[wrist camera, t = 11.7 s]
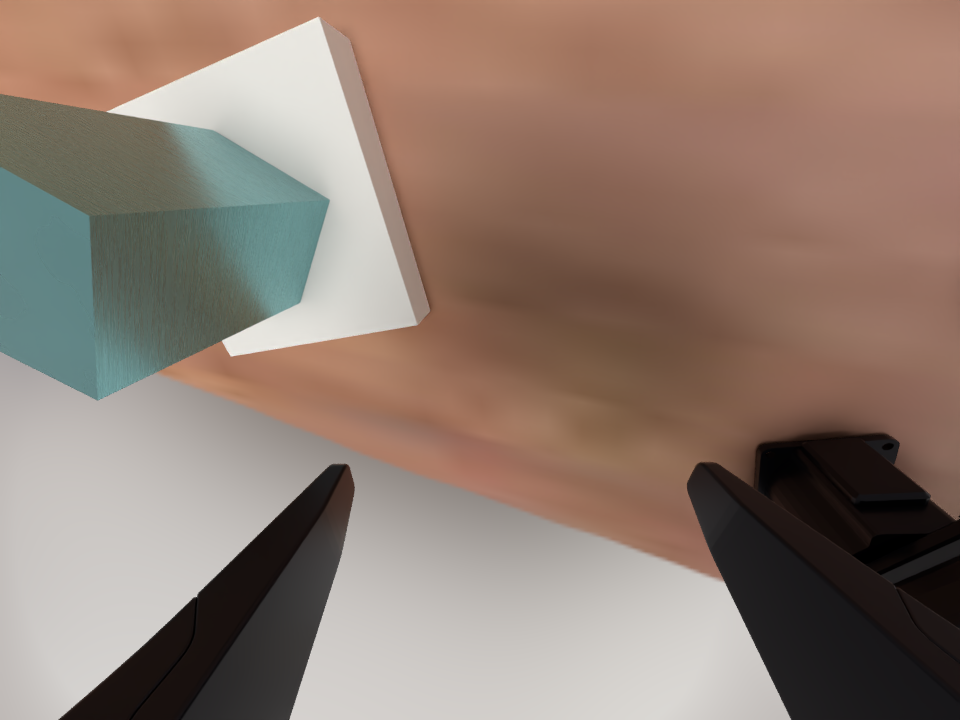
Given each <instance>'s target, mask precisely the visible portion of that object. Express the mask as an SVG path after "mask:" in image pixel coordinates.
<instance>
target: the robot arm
mask: <svg viewBox="0 0 960 720" xmlns="http://www.w3.org/2000/svg"><path fill="white" fill-rule="evenodd" d="M898 449H899V442H898V441H897V440H896V439H894V438H893V437H891V436H889V435H874V436H861V437H849V438H836V439H823V440H811V441H798V442H785V443H773V444H765V445H762V446H760V447H759V448H758V450H757V459H756V472H755V485H754V488H753V487H751V486H750V485H748V484H747V483H745V482H744V481H742V480H741V479H739V478H738V477H737V476H735V475H734V474H732V473H731V472H729V471H728V470H726V469H725V468H723V467H722V466H721V465H719V464H717V463H714V462H700V463H698V464H697V465H696V466H695V468H694V470H693V472H692V474H691V476H690V478H689V480H688V482H687V491H688V494H689V497H690V499H691V502H692V505H693V507H694V510H695V513H696V515H697V518H698V521H699V524H700V526H701V529H702V532H703V534H704V537H705V540H706V542H707V545H708V547H709V550H710V552H711V554H712V556H713V559H714V561H715V563H716V565H717V567H718V569H719V571H720V573H721V575H722V577H723V579H724V581H725V583H726V586H727V588H728V590H729V592H730V594H731V596H732V598H733V600H734V602H735V604H736V606H737V608H738V610H739V612H740V614H741V616H742V619H743V621H744V623H745V625H746V627H747V629H748V631H749V633H750V635H751V637H752V639H753V641H754V643H755V646H756V648H757V650H758V652H759V653H760V656H761V658H762V660H763V662H764V664H765V666H766V668H767V670H768V672H769V675H770V677H771V679H772V681H773V683H774V685H775V687H776V689H777V691H778V693H779V695H780V697H781V699H782V701H783V703H784V706H785V707H786V709H787V712H788V714H789V716H790V718H791V720H960V519H959V520H955V519H954V518H952V517H951V516H950V515H949V514H947V513H946V512H945V511H944V510H943V509H941V508H940V507H939V506H938V505H936V504H935V503H934V502H933V501H932V500H930V497H931V495H930V494H929V493H928V492H927V491H925V490H924V489H923V488H922V487H920V486H919V485H918V484H917V483H915V482H914V481H913V480H912V479H910V478H909V477H908V476H907V475H905V474H904V473H903V472H902V471H901V470H899V469H898V468H897V467H896V466H894V463H895V460H896V456H897V453H898ZM768 452H770V453H768ZM766 453H768V454H766ZM354 488H355V487H354V482H353V478H352V474H351V471H350V467H349V466H348V465H347V464H332V465H330V466H329V467H328V468H327V469H325V471H323V472H322V473H321V474H320V475H319V476H318V477H317V478H316V479H315V480H314V481H313V482H312V483H311V484H310V485H309V486H308V487H307V488H306V489H305V490H304V491H303V492H302V493H301V494H300V495H299V496H298V497H297V498H296V499H295V500H294V501H293V502H292V503H291V504H290V505H288V506H287V508H285V509H284V510H283V511H282V513H280V514H279V515H278V516H277V517H276V518H275V519H274V520H273V521H272V522H271V523H270V524H269V525H268V526H267V527H266V528H265V529H264V530H263V531H262V532H261V533H260V534H259V535H258V536H257V537H256V538H255V539H254V540H253V541H252V542H250V543H249V544H248V545H247V546H246V547H245V549H243V550H242V551H241V552H240V553H239V554H238V555H237V556H236V557H235V558H234V559H233V560H232V561H231V562H230V563H229V564H228V565H227V566H226V567H225V568H224V569H223V570H222V571H221V572H220V573H219V574H218V575H217V576H216V577H215V578H213V580H211V581H210V582H209V583H208V584H207V585H206V586H205V587H204V588H203V589H202V590H201V591H200V592H199V593H198V595H197V597H194V598H193V599H192V600H191V601H190V602H189V603H188V604H187V605H186V606H185V607H184V608H183V609H181V610H180V611H179V612H178V613H177V614H176V615H175V616H174V617H173V618H172V619H171V620H170V621H169V622H168V623H167V624H166V625H165V626H164V627H163V628H161V629H160V630H159V631H158V632H157V633H156V634H155V635H154V636H153V637H152V638H151V639H150V640H149V641H148V642H147V643H146V644H144V645H143V646H142V647H141V648H140V649H139V650H138V651H137V652H136V653H134V654H133V655H132V656H131V657H130V658H129V659H128V660H126V661H125V662H124V663H123V664H122V665H121V666H120V667H119V668H118V669H116V670H115V671H114V672H113V673H112V674H111V675H110V676H109V677H107V678H106V679H105V680H104V681H103V682H102V683H100V684H99V685H98V686H97V687H96V688H95V689H94V690H92V691H91V692H90V693H89V694H88V695H87V696H85V697H84V698H83V699H82V700H81V701H80V702H78V703H77V704H76V705H75V706H74V707H73V708H71V710H69V711H68V712H67V713H66V714H65V715H63V716H62V717H61V718H60V719H59V720H289V719H290V715H291V713H292V709H293V706H294V703H295V700H296V696H297V694H298V690H299V687H300V684H301V681H302V678H303V675H304V671H305V668H306V665H307V662H308V659H309V656H310V653H311V650H312V646H313V643H314V640H315V637H316V634H317V631H318V627H319V624H320V621H321V618H322V615H323V612H324V608H325V606H326V602H327V599H328V596H329V593H330V590H331V587H332V584H333V580H334V577H335V574H336V571H337V568H338V565H339V561H340V558H341V554H342V550H343V545H344V541H345V536H346V531H347V526H348V521H349V516H350V511H351V507H352V502H353V497H354ZM958 517H960V516H958Z"/></svg>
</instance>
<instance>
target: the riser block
mask: <svg viewBox="0 0 960 720" xmlns="http://www.w3.org/2000/svg"><path fill="white" fill-rule="evenodd" d="M107 112H109V113H115V114H121V115H127V116H133V117H138V118H144V119H150V120H156V121H162V122H168V123H174V124H180V125H186V126H192V127H198V128H204V129H209V130H214V131H215V132H217V133H219V134H221V135H222V136H224V137H226V138H227V139H229V140H231V141H232V142H234V143H236V144H237V145H239V146H241V147H242V148H244V149H246V150H247V151H249V152H251V153H252V154H254V155H256V156H257V157H259V158H261V159H262V160H264V161H266V162H267V163H269V164H271V165H272V166H274V167H276V168H277V169H279V170H281V171H282V172H284V173H286V174H287V175H289V176H291V177H293V178H294V179H296V180H298V181H299V182H301V183H303V184H304V185H306V186H308V187H309V188H311V189H313V190H314V191H316V192H318V193H319V194H321V195H323V196H324V197H326V198H328V199H329V200H330V202H329V205H328V209H327V212H326V216H325V219H324V223H323V226H322V230H321V233H320V237H319V240H318V243H317V247H316V250H315V254H314V257H313V261H312V264H311V268H310V271H309V274H308V278H307V281H306V285H305V288H304V292H303V295H302V299H301V302H300V303H299V304H297V305H295V306H293V307H291V308H289V309H286V310H284V311H282V312H280V313H278V314H276V315H274V316H272V317H270V318H268V319H266V320H264V321H262V322H260V323H257V324H255V325H253V326H251V327H249V328H247V329H245V330H243V331H241V332H239V333H237V334H235V335H233V336H230V337H228V338H226V339H224V340H222V342H223V344H224V345H225V347H226V349H227V351H228V352H229V354H230V356H237V355H243V354H249V353H254V352H260V351H266V350H272V349H278V348H284V347H290V346H296V345H302V344H308V343H314V342H320V341H326V340H332V339H338V338H344V337H350V336H356V335H362V334H368V333H374V332H380V331H386V330H392V329H398V328H404V327H410V326H416V325H418V324H419V323H420V322H421V321H422V320H423V319H424V318H425V317H426V316H427V315H428V313H429V312H430V308H429V304H428V301H427V298H426V294H425V291H424V287H423V284H422V281H421V277H420V274H419V271H418V267H417V264H416V261H415V257H414V254H413V251H412V247H411V244H410V240H409V237H408V234H407V230H406V227H405V224H404V220H403V217H402V214H401V210H400V207H399V203H398V200H397V197H396V193H395V190H394V187H393V183H392V180H391V177H390V173H389V170H388V166H387V163H386V160H385V156H384V153H383V150H382V146H381V143H380V140H379V136H378V133H377V130H376V126H375V123H374V119H373V116H372V113H371V109H370V106H369V103H368V99H367V96H366V93H365V89H364V86H363V82H362V79H361V76H360V72H359V69H358V66H357V62H356V59H355V56H354V52H353V49H352V46H351V42H350V39H349V38H347V37H346V36H344V35H343V34H342V33H340V32H339V31H338V30H336V29H335V28H334V27H332V26H331V25H330V24H328V23H327V22H326V21H324V20H323V19H322V18H320V17H317V18H315V19H312V20H310V21H308V22H306V23H304V24H301V25H299V26H297V27H295V28H292V29H290V30H288V31H286V32H283V33H281V34H279V35H277V36H275V37H272V38H270V39H268V40H266V41H263V42H261V43H259V44H257V45H254V46H252V47H250V48H248V49H245V50H243V51H241V52H239V53H237V54H234V55H232V56H230V57H228V58H225V59H223V60H221V61H219V62H216V63H214V64H212V65H210V66H208V67H205V68H203V69H201V70H199V71H196V72H194V73H192V74H190V75H187V76H185V77H183V78H181V79H178V80H176V81H174V82H172V83H170V84H167V85H165V86H163V87H161V88H158V89H156V90H154V91H152V92H149V93H147V94H145V95H143V96H141V97H138V98H136V99H134V100H132V101H129V102H127V103H125V104H123V105H120V106H118V107H116V108H114V109H112V110H109V111H107Z"/></svg>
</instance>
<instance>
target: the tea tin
mask: <svg viewBox="0 0 960 720" xmlns="http://www.w3.org/2000/svg"><path fill="white" fill-rule="evenodd" d="M329 202H330V200H329V199H328V198H326V197H324V196H323V195H321V194H319V193H318V192H316V191H314V190H313V189H311V188H309V187H308V186H306V185H304V184H303V183H301V182H299V181H298V180H296V179H294V178H293V177H291V176H289V175H287V174H286V173H284V172H282V171H281V170H279V169H277V168H276V167H274V166H272V165H271V164H269V163H267V162H266V161H264V160H262V159H261V158H259V157H257V156H256V155H254V154H252V153H251V152H249V151H247V150H246V149H244V148H242V147H241V146H239V145H237V144H236V143H234V142H232V141H231V140H229V139H227V138H226V137H224V136H222V135H221V134H219V133H217V132H215V131H214V130H209V129H204V128H198V127H192V126H186V125H180V124H174V123H168V122H162V121H156V120H150V119H144V118H138V117H133V116H127V115H121V114H115V113H109V112H103V111H97V110H91V109H85V108H79V107H73V106H67V105H62V104H56V103H50V102H44V101H38V100H32V99H26V98H20V97H14V96H8V95H2V94H0V352H2V353H4V354H6V355H8V356H10V357H12V358H14V359H16V360H18V361H20V362H22V363H24V364H26V365H28V366H30V367H32V368H34V369H36V370H38V371H40V372H42V373H44V374H46V375H48V376H50V377H52V378H54V379H56V380H58V381H60V382H62V383H64V384H66V385H68V386H70V387H72V388H74V389H76V390H78V391H80V392H82V393H84V394H86V395H88V396H90V397H92V398H94V399H96V400H100V399H102V398H104V397H106V396H108V395H110V394H112V393H114V392H116V391H118V390H121V389H123V388H125V387H127V386H129V385H131V384H133V383H135V382H137V381H139V380H141V379H143V378H145V377H147V376H150V375H152V374H154V373H156V372H158V371H160V370H162V369H164V368H166V367H168V366H170V365H172V364H174V363H177V362H179V361H181V360H183V359H185V358H187V357H189V356H191V355H193V354H195V353H197V352H199V351H201V350H204V349H206V348H208V347H210V346H212V345H214V344H216V343H218V342H220V341H222V340H224V339H226V338H228V337H230V336H233V335H235V334H237V333H239V332H241V331H243V330H245V329H247V328H249V327H251V326H253V325H255V324H257V323H260V322H262V321H264V320H266V319H268V318H270V317H272V316H274V315H276V314H278V313H280V312H282V311H284V310H286V309H289V308H291V307H293V306H295V305H297V304H299V303H300V302H301V299H302V295H303V292H304V288H305V285H306V281H307V278H308V274H309V271H310V268H311V264H312V261H313V257H314V254H315V250H316V247H317V243H318V240H319V237H320V233H321V230H322V226H323V223H324V219H325V216H326V212H327V209H328V205H329Z"/></svg>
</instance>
